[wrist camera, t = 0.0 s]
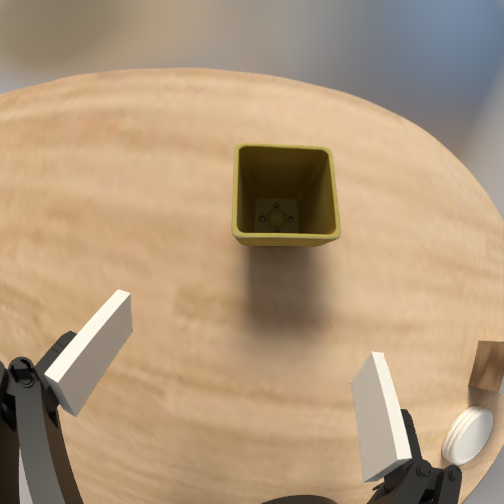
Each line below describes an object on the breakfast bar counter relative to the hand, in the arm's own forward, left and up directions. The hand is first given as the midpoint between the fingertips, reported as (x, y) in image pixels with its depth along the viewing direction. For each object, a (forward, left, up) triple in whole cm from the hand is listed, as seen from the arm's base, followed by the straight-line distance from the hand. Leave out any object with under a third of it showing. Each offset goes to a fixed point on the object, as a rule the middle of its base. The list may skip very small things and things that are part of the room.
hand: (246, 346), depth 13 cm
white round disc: (-12, -38, -16) cm, 43 cm away
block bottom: (0, -38, -15) cm, 41 cm away
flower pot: (+12, 0, -16) cm, 20 cm away
